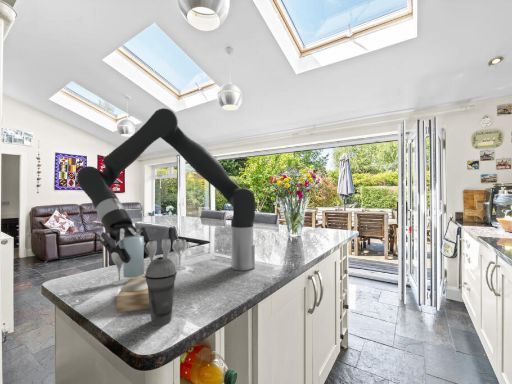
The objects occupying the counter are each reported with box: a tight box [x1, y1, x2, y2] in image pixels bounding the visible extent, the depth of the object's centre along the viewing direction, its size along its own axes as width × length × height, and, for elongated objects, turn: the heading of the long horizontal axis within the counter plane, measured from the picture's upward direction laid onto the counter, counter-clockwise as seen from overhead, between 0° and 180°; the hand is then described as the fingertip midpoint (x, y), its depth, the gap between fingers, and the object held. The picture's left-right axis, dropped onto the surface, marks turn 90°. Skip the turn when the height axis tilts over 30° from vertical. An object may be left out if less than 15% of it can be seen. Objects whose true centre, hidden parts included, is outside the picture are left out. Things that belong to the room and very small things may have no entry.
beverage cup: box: [144, 238, 178, 327], centre depth 62 cm, size 7×7×20 cm
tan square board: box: [115, 276, 150, 313], centre depth 75 cm, size 12×14×4 cm
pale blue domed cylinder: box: [122, 236, 145, 279], centre depth 74 cm, size 5×5×11 cm
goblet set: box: [110, 238, 188, 286], centre depth 97 cm, size 28×6×13 cm, turn 133°
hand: (137, 258), depth 73 cm, fingers closed on pale blue domed cylinder, 5 cm apart
